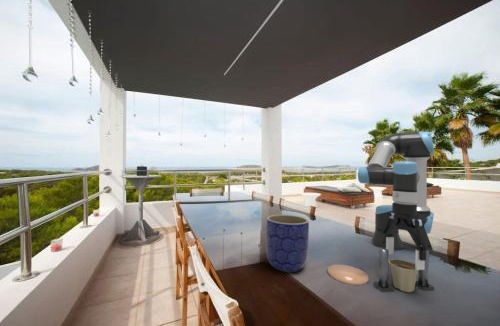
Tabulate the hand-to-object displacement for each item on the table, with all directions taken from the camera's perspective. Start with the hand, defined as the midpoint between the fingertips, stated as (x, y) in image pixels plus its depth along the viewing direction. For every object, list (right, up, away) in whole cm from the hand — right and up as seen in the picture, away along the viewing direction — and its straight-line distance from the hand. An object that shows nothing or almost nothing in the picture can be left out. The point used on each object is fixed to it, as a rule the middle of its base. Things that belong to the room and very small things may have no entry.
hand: (403, 260), depth 80 cm
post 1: (-8, -10, -1) cm, 13 cm away
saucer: (-17, -10, +8) cm, 21 cm away
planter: (-41, -9, +15) cm, 44 cm away
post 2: (+8, -10, +1) cm, 13 cm away
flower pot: (0, -10, 0) cm, 10 cm away
